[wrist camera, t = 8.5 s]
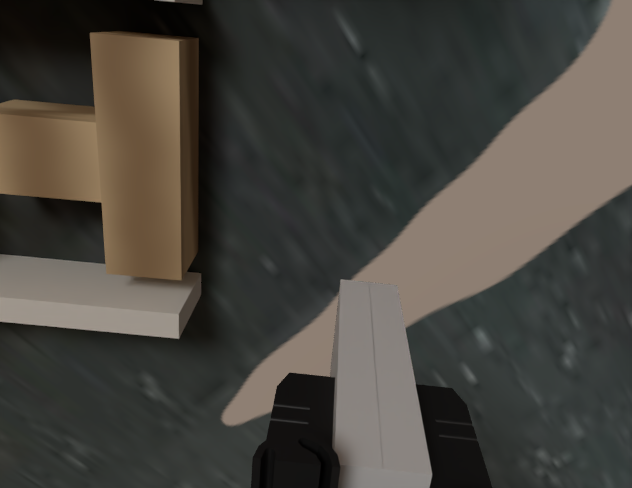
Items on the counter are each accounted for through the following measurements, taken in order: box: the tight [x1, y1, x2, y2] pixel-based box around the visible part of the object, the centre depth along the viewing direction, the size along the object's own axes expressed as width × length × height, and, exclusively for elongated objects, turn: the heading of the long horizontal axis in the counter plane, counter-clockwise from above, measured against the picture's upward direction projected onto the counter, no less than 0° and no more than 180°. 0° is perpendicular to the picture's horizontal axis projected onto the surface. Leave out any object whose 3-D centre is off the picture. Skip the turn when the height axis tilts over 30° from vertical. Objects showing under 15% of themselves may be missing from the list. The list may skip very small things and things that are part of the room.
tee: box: [0, 31, 199, 280], centre depth 28 cm, size 10×12×4 cm
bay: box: [0, 0, 203, 339], centre depth 28 cm, size 15×18×5 cm
